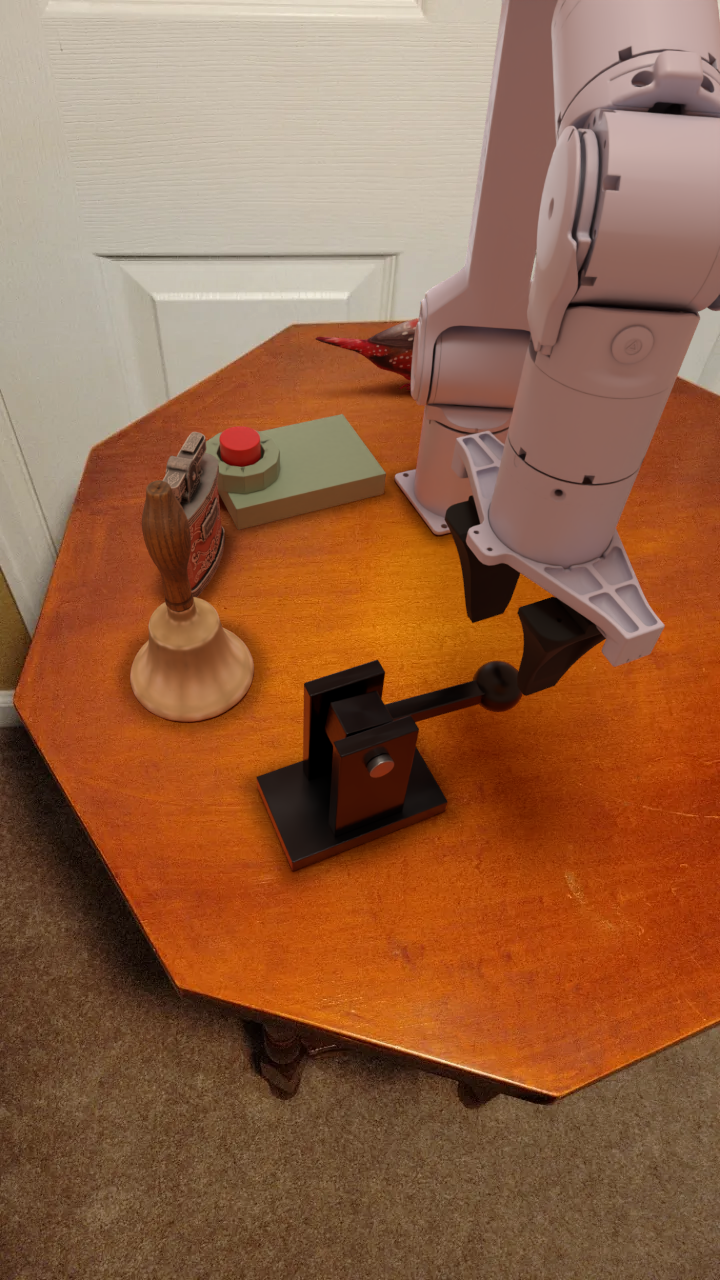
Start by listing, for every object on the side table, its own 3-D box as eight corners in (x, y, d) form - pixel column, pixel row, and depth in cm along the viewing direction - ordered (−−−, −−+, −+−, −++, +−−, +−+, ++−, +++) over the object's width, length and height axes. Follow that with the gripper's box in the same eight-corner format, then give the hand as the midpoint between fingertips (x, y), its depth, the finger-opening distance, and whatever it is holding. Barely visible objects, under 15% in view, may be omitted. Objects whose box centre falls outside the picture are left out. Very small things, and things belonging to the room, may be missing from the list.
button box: (341, 434, 73) (343, 396, 70) (384, 494, 68) (388, 455, 65) (192, 467, 69) (187, 427, 66) (225, 533, 64) (221, 494, 61)
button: (253, 440, 66) (252, 422, 65) (266, 463, 64) (265, 445, 63) (215, 448, 65) (213, 430, 64) (228, 471, 63) (226, 453, 62)
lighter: (200, 605, 59) (186, 498, 51) (156, 596, 59) (135, 489, 51) (233, 533, 64) (225, 427, 56) (192, 526, 64) (179, 419, 57)
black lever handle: (498, 678, 49) (512, 645, 47) (524, 715, 48) (540, 683, 45) (320, 726, 45) (327, 692, 42) (342, 770, 43) (350, 736, 41)
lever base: (401, 735, 53) (419, 637, 45) (445, 811, 49) (472, 719, 42) (256, 786, 49) (249, 691, 42) (292, 871, 46) (291, 784, 39)
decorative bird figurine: (492, 392, 79) (513, 293, 72) (316, 406, 76) (319, 304, 68) (483, 376, 81) (502, 278, 74) (311, 389, 78) (312, 288, 70)
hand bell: (147, 738, 51) (101, 556, 39) (118, 645, 56) (68, 457, 44) (271, 700, 54) (263, 518, 42) (232, 614, 58) (216, 428, 46)
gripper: (412, 369, 37) (387, 579, 47) (598, 582, 28) (517, 779, 39) (542, 344, 39) (490, 549, 49) (749, 534, 31) (635, 733, 41)
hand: (509, 648), depth 44 cm, fingers open, 5 cm apart
